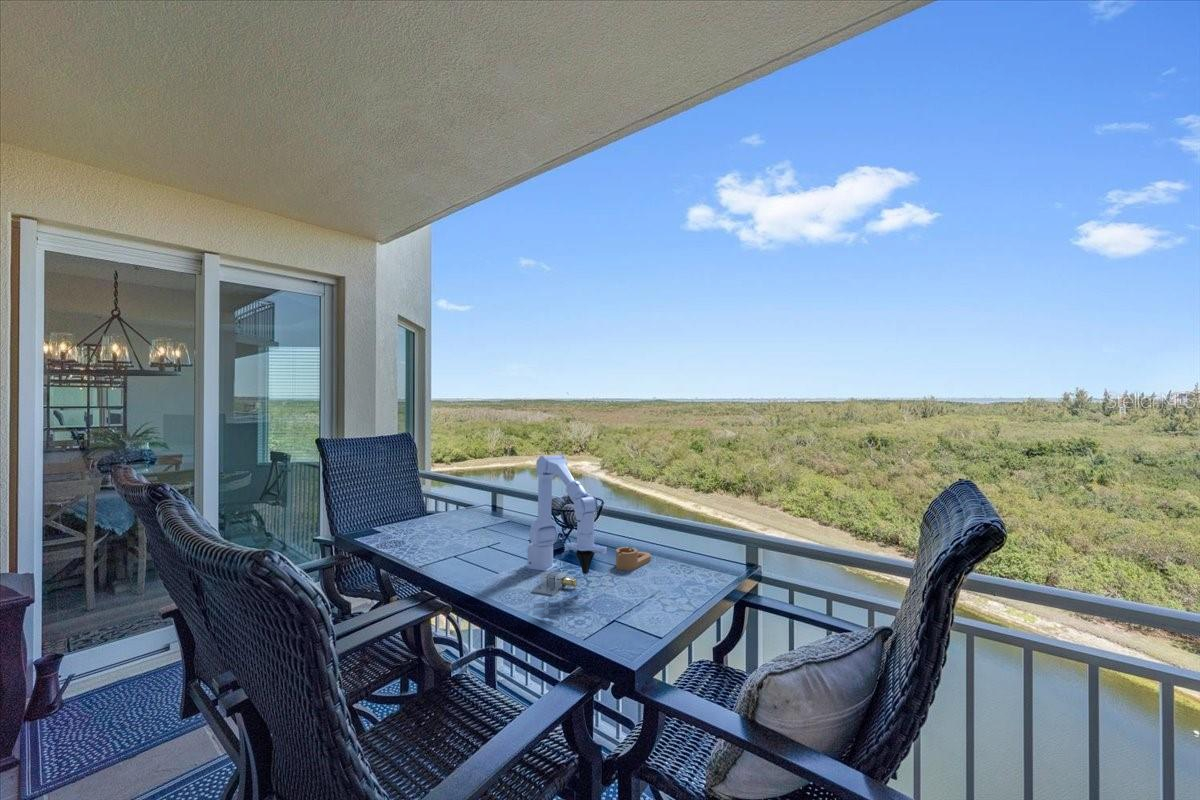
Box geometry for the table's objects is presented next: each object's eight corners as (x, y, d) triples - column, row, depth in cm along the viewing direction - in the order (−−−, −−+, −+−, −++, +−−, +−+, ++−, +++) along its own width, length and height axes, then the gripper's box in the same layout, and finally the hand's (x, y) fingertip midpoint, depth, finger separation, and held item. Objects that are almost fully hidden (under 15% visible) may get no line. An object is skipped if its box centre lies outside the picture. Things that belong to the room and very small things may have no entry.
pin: (550, 584, 164) (550, 577, 164) (554, 581, 166) (554, 574, 167) (574, 588, 161) (574, 580, 161) (577, 585, 163) (577, 578, 163)
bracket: (629, 573, 177) (629, 555, 177) (611, 569, 182) (611, 550, 182) (654, 561, 192) (654, 543, 192) (637, 557, 197) (637, 540, 197)
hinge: (532, 592, 159) (532, 580, 159) (554, 575, 174) (554, 564, 174) (552, 595, 156) (552, 583, 156) (573, 578, 171) (573, 567, 171)
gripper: (561, 533, 160) (561, 574, 160) (601, 537, 155) (601, 579, 154) (570, 528, 166) (570, 567, 166) (608, 532, 161) (609, 572, 161)
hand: (585, 572), depth 161 cm, fingers closed
